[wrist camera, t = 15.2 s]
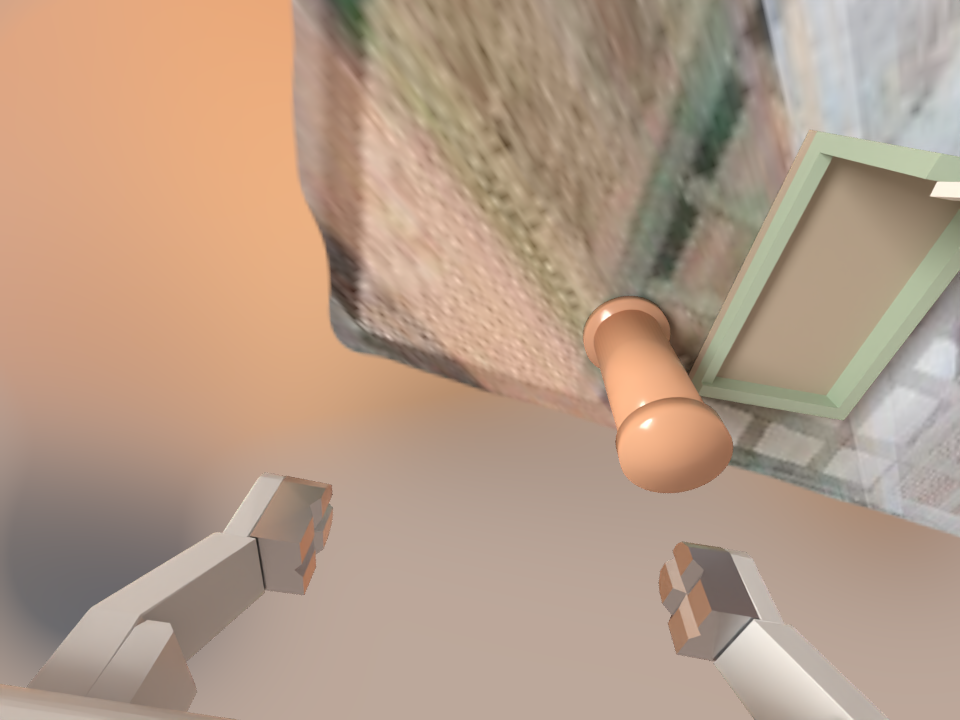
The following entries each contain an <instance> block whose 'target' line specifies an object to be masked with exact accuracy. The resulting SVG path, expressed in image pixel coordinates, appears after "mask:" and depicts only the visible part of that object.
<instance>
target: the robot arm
mask: <svg viewBox="0 0 960 720" xmlns="http://www.w3.org/2000/svg"><path fill="white" fill-rule="evenodd" d="M332 495H333V494H332V485H330V484H325V483H321V482H315V481H310V480H305V479H300V478H295V477H290V476H283V475H278V474H272V473H267V472H265V473H264V474H262V475H261V476H260V477H259V478H258V479H257V481H256V482H255V484H254V485H253V487H252V488H251V490H250V492H249V493H248V495H247V496H246V498H245V499H244V501H243V502H242V504H241V506H240V507H239V508H238V510H237V512H236V513H235V515H234V516H233V518H232V519H231V521H230V522H229V524H228V525H227V527H226V529H225V530H224V532H223V533H221V532H215V533H213V534H211V535H210V536H208V537H206V538H205V539H203V540H202V541H200V542H198V543H197V544H195V545H193V546H192V547H190V548H188V549H187V550H185V551H184V552H182V553H180V554H179V555H177V556H175V557H174V558H172V559H170V560H169V561H167V562H165V563H164V564H162V565H160V566H159V567H157V568H156V569H154V570H152V571H151V572H149V573H147V574H146V575H144V576H142V577H141V578H139V579H137V580H136V581H134V582H132V583H131V584H129V585H127V586H126V587H124V588H123V589H121V590H119V591H118V592H116V593H115V594H113V595H111V596H109V597H108V598H106V599H104V600H103V601H101V602H100V603H98V604H96V605H95V606H93V607H91V608H90V609H89V611H88V612H87V613H86V614H85V615H84V617H83V618H82V619H81V621H79V623H78V624H77V625H76V626H75V628H74V629H73V630H72V631H71V633H70V634H69V635H68V636H67V638H66V639H65V640H64V641H63V642H62V644H61V645H60V646H59V647H58V649H57V650H56V651H55V652H54V654H53V655H52V656H51V657H50V659H49V660H48V661H47V662H46V663H45V665H44V666H43V667H42V668H41V670H40V671H39V672H38V673H37V674H36V676H35V677H34V678H33V679H32V681H31V682H30V683H29V684H28V686H27V687H26V688H25V687H17V686H12V685H5V684H0V720H236V719H230V718H223V717H216V716H210V715H203V714H196V713H190V712H187V711H188V709H189V707H190V705H191V703H192V701H193V699H194V697H195V695H196V693H197V690H196V686H195V683H194V680H193V678H192V675H191V673H190V671H189V668H188V666H187V664H186V662H187V661H188V660H189V659H190V658H191V657H192V656H194V655H195V654H196V653H197V652H198V651H199V650H200V649H201V648H203V647H204V646H205V645H206V644H207V643H208V642H209V641H211V640H212V639H213V638H214V637H215V636H216V635H217V634H219V633H220V632H221V631H222V630H223V629H224V628H225V627H226V626H228V625H229V624H230V623H231V622H232V621H233V620H234V619H236V618H237V617H238V616H239V615H240V614H241V613H242V612H243V611H245V610H246V609H247V608H248V607H249V606H250V605H251V604H253V603H254V602H255V601H256V600H257V599H258V598H259V597H261V596H262V595H263V594H264V593H265V590H268V591H276V592H283V593H292V594H299V595H305V592H306V590H307V587H308V585H309V583H310V580H311V578H312V575H313V573H314V571H315V568H316V554H317V553H319V552H320V551H321V550H323V548H324V546H325V544H326V541H327V539H328V536H329V531H330V528H331V524H332V518H333V507H332V506H331V505H330V504H329V502H330V499H331V497H332ZM673 554H674V557H675V558H673V559H671V560H669V561H667V562H665V563H664V565H663V567H662V569H661V571H660V576H659V591H660V596H661V600H662V604H663V605H664V606H665V607H666V608H667V610H668V611H669V612H670V613H671V614H672V615H671V617H670V620H669V622H668V625H669V630H670V633H671V637H672V640H673V644H674V647H675V651H676V654H677V655H682V656H688V657H693V658H699V659H704V660H709V661H714V665H715V666H716V668H717V669H718V670H719V672H720V673H721V675H722V676H723V677H724V679H725V680H726V681H727V683H728V684H729V686H730V687H731V688H732V690H733V691H734V693H735V694H736V695H737V697H738V698H739V699H740V701H741V702H742V703H743V705H744V706H745V708H746V709H747V710H748V712H749V713H750V714H751V716H752V717H753V718H754V720H890V719H889V718H888V717H887V716H886V715H885V714H884V713H883V712H882V711H881V710H879V709H878V708H877V707H876V706H875V705H874V704H873V703H872V702H871V701H870V700H869V699H868V698H867V697H866V696H865V695H864V694H863V693H862V692H861V691H860V690H859V689H858V688H857V687H855V686H854V685H853V684H852V683H851V682H850V681H849V680H848V679H847V678H846V677H845V676H844V675H843V674H842V673H841V672H840V671H838V669H837V668H836V667H835V666H833V664H831V663H830V662H829V661H828V660H827V659H826V658H825V657H824V656H823V655H822V654H821V653H820V652H819V651H818V650H817V649H816V648H815V647H814V646H813V645H812V644H811V643H809V641H807V640H806V639H805V638H804V637H803V636H802V635H801V634H800V633H799V632H798V631H797V630H796V629H795V628H794V627H793V626H792V625H788V624H785V623H784V621H783V619H782V617H781V615H780V613H779V611H778V610H777V607H776V605H775V603H774V602H773V599H772V597H771V595H770V593H769V591H768V589H767V587H766V585H765V583H764V581H763V579H762V577H761V575H760V573H759V571H758V569H757V567H756V565H755V563H754V561H753V559H752V557H751V556H750V555H749V554H748V553H747V552H742V551H736V550H730V549H723V548H721V547H714V546H707V545H700V544H694V543H688V542H680V543H678V544H677V545H676V546H675V548H674V549H673Z"/></svg>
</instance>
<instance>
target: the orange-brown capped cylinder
mask: <svg viewBox="0 0 960 720" xmlns="http://www.w3.org/2000/svg"><path fill="white" fill-rule="evenodd" d="M594 349H595V352H596V356H597V359H598V363H599V366H600V370H601V374H602V377H603V381H604V384H605V388H606V391H607V395H608V399H609V402H610V406H611V409H612V413H613V416H614V420H615V424H616V427H617V435H616V441H615V442H616V449H617V453H618V457H619V461H620V465H621V468H622V470H623V472H624V474H625V476H626V477H627V478H628V479H629V480H630V481H631V482H632V483H634V484H635V485H637V486H639V487H641V488H643V489H645V490H649V491H653V492H658V493H678V492H684V491H688V490H692V489H695V488H698V487H700V486H702V485H705V484H706V483H708V482H710V481H712V480H713V479H714V478H716V477H717V476H718V475H719V474H720V473H721V472H722V471H723V470H724V469H725V468H726V466H727V465H728V463H729V461H730V459H731V457H732V453H733V442H732V438H731V436H730V434H729V432H728V430H727V429H726V427H725V425H724V424H723V422H722V420H721V418H720V417H719V415H718V414H717V413H716V411H715V410H713V409H712V408H711V407H710V406H708V405H707V404H705V403H704V402H703V401H702V399H701V397H700V395H699V394H698V392H697V390H696V388H695V387H694V385H693V383H692V381H691V380H690V378H689V376H688V374H687V373H686V371H685V369H684V367H683V366H682V364H681V362H680V360H679V359H678V357H677V355H676V353H675V352H674V350H673V348H672V346H671V344H670V343H669V341H668V339H667V337H666V336H665V334H664V332H663V330H662V329H661V327H660V325H659V323H658V322H657V321H656V319H655V318H654V317H653V316H651V315H650V314H648V313H646V312H643V311H640V310H623V311H619V312H617V313H614V314H612V315H610V316H609V317H607V318H606V319H605V320H604V321H603V322H602V323H601V324H600V325H599V327H598V328H597V330H596V332H595V335H594Z"/></svg>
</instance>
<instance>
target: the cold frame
mask: <svg viewBox="0 0 960 720" xmlns="http://www.w3.org/2000/svg"><path fill="white" fill-rule="evenodd" d="M937 182H960V157H957V156H952V155H946V154H941V153H936V152H930V151H924V150H919V149H913V148H908V147H902V146H897V145H891V144H886V143H880V142H875V141H869V140H863V139H858V138H852V137H847V136H841V135H836V134H830V133H825V132H819V131H813V130H809V132H808V134H807V136H806V138H805V140H804V142H803V144H802V146H801V148H800V150H799V152H798V154H797V156H796V158H795V160H794V162H793V164H792V166H791V168H790V170H789V172H788V174H787V176H786V178H785V180H784V182H783V185H782V187H781V189H780V191H779V193H778V195H777V197H776V199H775V201H774V203H773V205H772V207H771V209H770V211H769V213H768V215H767V217H766V219H765V221H764V223H763V225H762V227H761V229H760V231H759V233H758V235H757V237H756V239H755V241H754V243H753V245H752V247H751V249H750V251H749V253H748V255H747V257H746V259H745V261H744V263H743V265H742V267H741V270H740V272H739V274H738V276H737V278H736V280H735V282H734V284H733V286H732V288H731V290H730V292H729V294H728V296H727V298H726V300H725V302H724V304H723V306H722V308H721V310H720V312H719V314H718V316H717V318H716V320H715V322H714V324H713V326H712V328H711V330H710V332H709V334H708V336H707V338H706V340H705V342H704V344H703V346H702V348H701V350H700V352H699V355H698V357H697V359H696V361H695V363H694V365H693V367H692V369H691V371H690V373H689V375H688V376H689V378H690V380H691V381H692V383H693V385H694V387H695V388H696V390H697V392H698V394H699V395H700V396H704V397H710V398H715V399H721V400H727V401H733V402H739V403H744V404H750V405H756V406H762V407H768V408H774V409H779V410H785V411H791V412H797V413H803V414H808V415H814V416H820V417H826V418H832V419H838V420H843V421H844V420H845V418H846V417H847V416H848V414H849V413H850V412H851V410H852V409H853V408H854V407H855V405H856V404H857V403H858V401H859V400H860V399H861V397H862V396H863V395H864V394H865V392H866V391H867V390H868V388H869V387H870V386H871V385H872V383H873V382H874V381H875V379H876V378H877V377H878V375H879V374H880V373H881V372H882V370H883V369H884V368H885V366H886V365H887V364H888V362H889V361H890V360H891V359H892V357H893V356H894V355H895V353H896V352H897V351H898V349H899V348H900V347H901V346H902V344H903V343H904V342H905V340H906V339H907V338H908V336H909V335H910V334H911V333H912V331H913V330H914V329H915V327H916V326H917V325H918V323H919V322H920V321H921V320H922V318H923V317H924V316H925V314H926V313H927V312H928V310H929V309H930V308H931V307H932V305H933V304H934V303H935V301H936V300H937V299H938V297H939V296H940V295H941V294H942V292H943V291H944V290H945V288H946V287H947V286H948V285H949V283H950V282H951V281H952V279H953V278H954V277H955V275H956V274H957V273H958V272H959V270H960V201H952V200H947V199H941V198H936V197H931V196H930V195H931V193H932V191H933V189H934V187H935V185H936V183H937Z"/></svg>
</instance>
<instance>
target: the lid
mask: <svg viewBox="0 0 960 720" xmlns="http://www.w3.org/2000/svg"><path fill="white" fill-rule="evenodd" d="M930 196H931V197H936V198H941V199H947V200H952V201H960V182H937V183H936V185H935V187H934V189H933V191H932V193H931V195H930Z"/></svg>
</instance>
